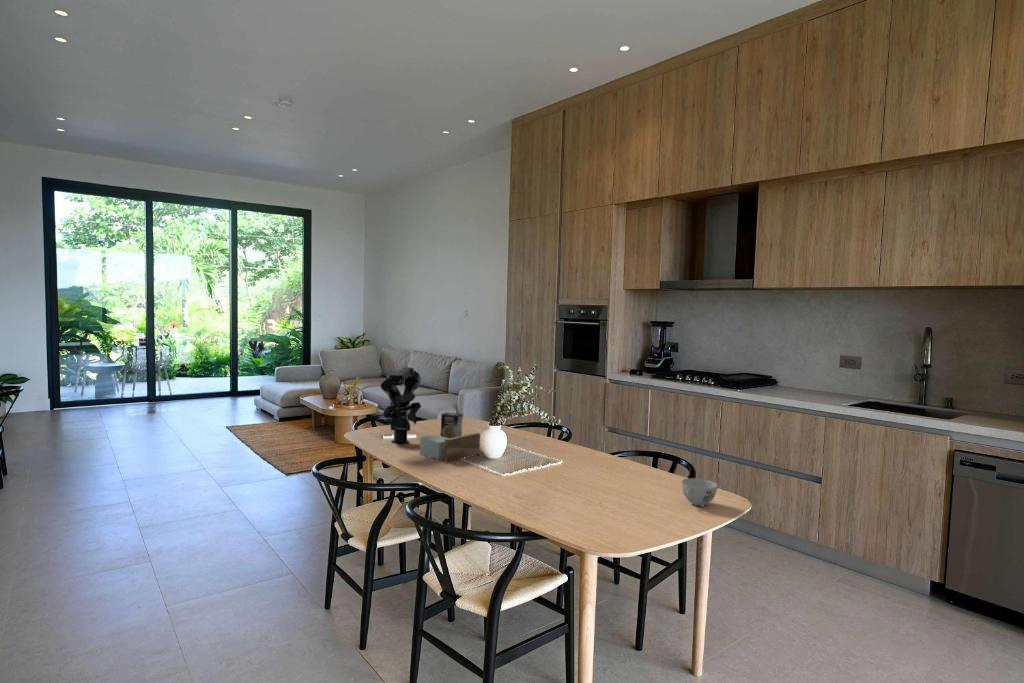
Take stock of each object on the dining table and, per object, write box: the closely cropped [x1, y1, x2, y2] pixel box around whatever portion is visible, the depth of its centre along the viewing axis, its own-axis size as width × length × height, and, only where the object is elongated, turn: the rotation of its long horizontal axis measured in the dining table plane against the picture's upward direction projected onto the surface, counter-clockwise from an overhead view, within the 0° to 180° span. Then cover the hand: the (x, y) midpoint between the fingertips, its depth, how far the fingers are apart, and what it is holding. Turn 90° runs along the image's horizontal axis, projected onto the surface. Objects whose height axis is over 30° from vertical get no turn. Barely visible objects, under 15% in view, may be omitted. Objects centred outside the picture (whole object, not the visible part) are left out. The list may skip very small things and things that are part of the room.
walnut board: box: [443, 432, 481, 463], centre depth 256 cm, size 2×20×10 cm, turn 139°
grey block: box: [419, 434, 448, 460], centre depth 259 cm, size 13×9×8 cm
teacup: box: [681, 477, 718, 506], centre depth 205 cm, size 15×12×8 cm
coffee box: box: [440, 411, 464, 438], centre depth 278 cm, size 9×6×16 cm
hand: (410, 424), depth 261 cm, fingers open, 6 cm apart
